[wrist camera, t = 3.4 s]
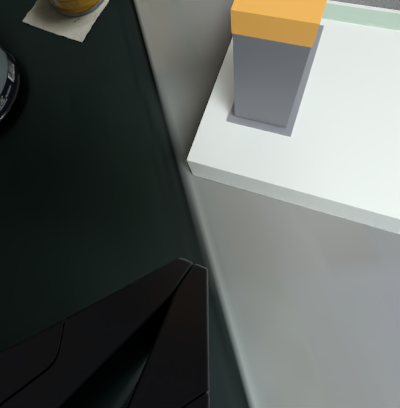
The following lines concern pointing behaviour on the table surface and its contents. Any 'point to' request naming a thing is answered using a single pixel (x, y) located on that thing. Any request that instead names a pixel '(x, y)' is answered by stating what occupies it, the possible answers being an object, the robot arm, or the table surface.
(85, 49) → the table surface
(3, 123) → the supplement container
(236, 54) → the orange-capped grey pillar
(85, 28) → the condiment
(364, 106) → the box
